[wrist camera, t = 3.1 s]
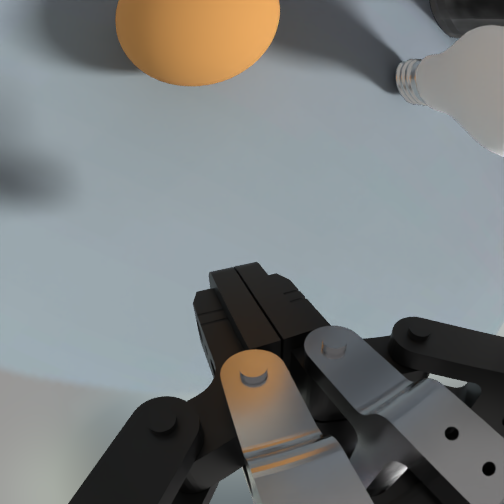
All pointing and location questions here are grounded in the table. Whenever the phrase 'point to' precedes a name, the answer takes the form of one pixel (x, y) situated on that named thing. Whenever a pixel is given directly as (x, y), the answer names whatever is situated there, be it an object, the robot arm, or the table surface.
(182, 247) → the table surface
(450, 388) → the robot arm
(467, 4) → the beverage cup
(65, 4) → the table surface
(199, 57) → the ball
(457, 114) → the light bulb
